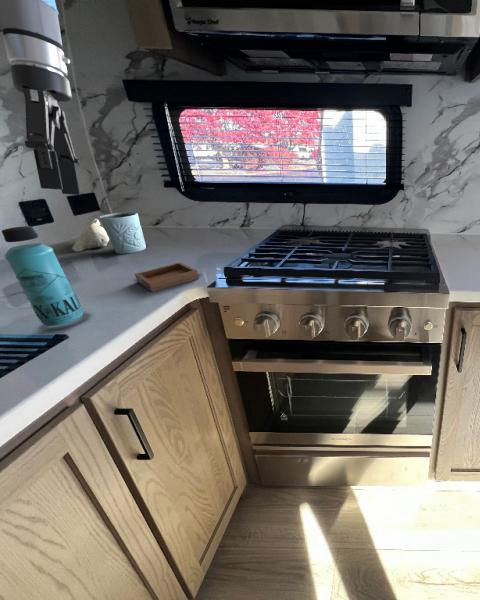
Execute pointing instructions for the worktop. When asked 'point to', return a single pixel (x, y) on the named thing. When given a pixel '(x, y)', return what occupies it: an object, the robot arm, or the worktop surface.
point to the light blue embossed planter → (124, 232)
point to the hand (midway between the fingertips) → (62, 192)
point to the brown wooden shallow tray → (166, 276)
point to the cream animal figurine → (92, 237)
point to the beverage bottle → (41, 278)
